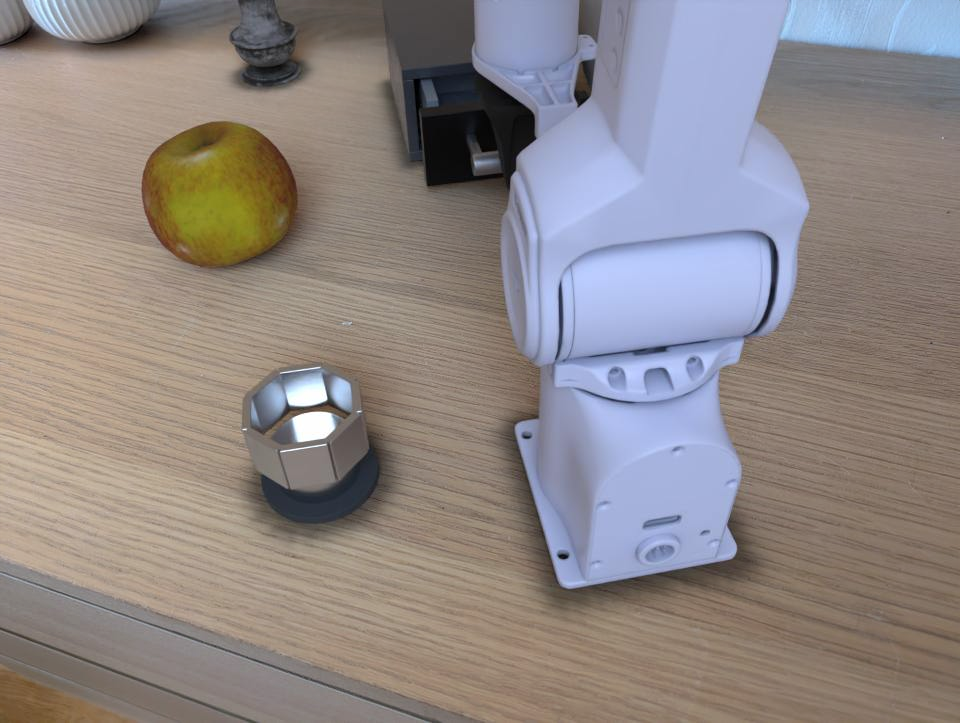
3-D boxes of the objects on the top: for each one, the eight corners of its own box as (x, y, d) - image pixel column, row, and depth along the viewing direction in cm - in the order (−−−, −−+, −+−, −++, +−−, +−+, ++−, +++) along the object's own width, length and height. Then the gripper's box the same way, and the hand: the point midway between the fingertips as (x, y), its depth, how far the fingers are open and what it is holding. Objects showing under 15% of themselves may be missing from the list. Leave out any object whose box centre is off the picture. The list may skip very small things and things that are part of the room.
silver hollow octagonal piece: (377, 504, 38) (365, 438, 35) (263, 523, 37) (240, 458, 34) (368, 422, 41) (355, 356, 38) (264, 438, 41) (243, 372, 38)
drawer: (603, 199, 55) (609, 126, 51) (435, 220, 54) (430, 147, 50) (543, 90, 67) (545, 25, 63) (405, 106, 66) (399, 40, 62)
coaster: (384, 513, 38) (383, 506, 38) (262, 533, 37) (260, 527, 37) (373, 425, 42) (372, 418, 42) (263, 442, 41) (261, 435, 41)
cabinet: (573, 142, 63) (578, 50, 58) (410, 161, 61) (401, 69, 56) (532, 68, 72) (534, -16, 67) (390, 83, 71) (381, -1, 66)
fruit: (218, 197, 58) (188, 90, 53) (332, 219, 56) (312, 110, 50) (134, 276, 52) (89, 163, 46) (258, 305, 49) (226, 189, 44)
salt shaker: (224, 81, 72) (187, -66, 64) (262, 55, 76) (231, -88, 68) (281, 92, 70) (250, -59, 62) (317, 64, 74) (292, -81, 66)
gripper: (645, 7, 38) (619, 246, 47) (565, -82, 48) (556, 129, 58) (497, 22, 37) (500, 263, 47) (447, -72, 48) (458, 140, 57)
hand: (524, 190), depth 52 cm, fingers closed
